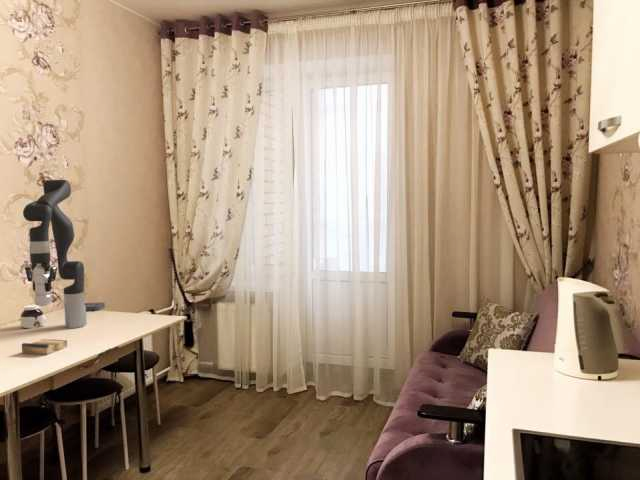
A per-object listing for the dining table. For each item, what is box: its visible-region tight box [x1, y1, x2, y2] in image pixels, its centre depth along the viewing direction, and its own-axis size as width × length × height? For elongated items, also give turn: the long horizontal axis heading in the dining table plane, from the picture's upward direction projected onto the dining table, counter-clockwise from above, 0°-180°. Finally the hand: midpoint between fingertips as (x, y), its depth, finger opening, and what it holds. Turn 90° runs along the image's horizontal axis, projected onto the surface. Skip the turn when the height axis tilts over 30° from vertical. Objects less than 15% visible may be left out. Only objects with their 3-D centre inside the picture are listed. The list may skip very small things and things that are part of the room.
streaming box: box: [84, 302, 106, 312], centre depth 293 cm, size 13×13×5 cm
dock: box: [21, 338, 68, 356], centre depth 213 cm, size 12×12×4 cm
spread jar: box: [20, 304, 47, 330], centre depth 255 cm, size 12×11×12 cm
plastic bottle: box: [33, 264, 53, 307], centre depth 212 cm, size 6×7×20 cm
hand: (42, 291), depth 212 cm, fingers closed on plastic bottle, 5 cm apart
